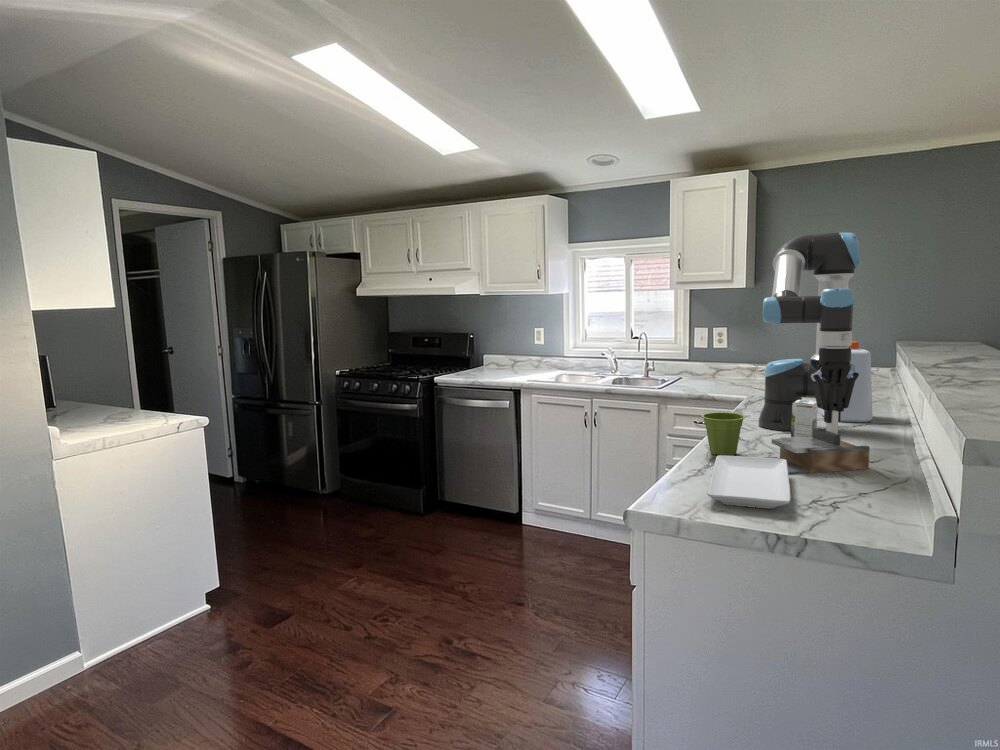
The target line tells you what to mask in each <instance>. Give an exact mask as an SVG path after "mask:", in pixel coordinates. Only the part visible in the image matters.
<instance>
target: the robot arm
mask: <svg viewBox="0 0 1000 750" xmlns="http://www.w3.org/2000/svg"><path fill="white" fill-rule="evenodd" d="M859 246H860V245H859V240H858V237H857V235H856V233H853V232H841V231H840V232H832V233H831V232H830V233H820V234H804V235H800V236H797V237H794V238H791V239H790V240H788V241H787V242H785V243H783V245H781V246H780V247H779V248H778V250H777V251H776V252H775V254H774V255H773V259H772V268H773V270H774V278H773V285H772V294H771V296H770V297H769V296H767V297H765V298H764V299H763V301H762V320H763V322H764V323H766V324H778V325H779V324H816V343H815V353H814V354H813V355H812V356H811V357H810V363H808V362H807V363H804V359H803V358H788V359H787V358H786V359H785V358H784V359H779V360H773V361H769V362H768V363H767V364H766V366H765V371H764V372H765V374H764V377H765V379H764V380H765V381H764V382H765V383H764V405H763V407H762V409H761V412H760V415H759V417H758V424H759V425H760V426H762V427H761V428H763V427H764V429H767V428H768V429H767V430H772V429H773V430H774V431H785V432H789V431H790V432H791V424H792V405H793V403H794V402H795V401H797V400H803V398H807V399H808V398H809V399H810V398H811V399H815V401H816V403H817V407H818V409H820V410H821V409H823V410H824V416H823V421H824V422H825V430H826V431H829V432H832V433H835V434H838V435H839V432H838V431H839V430H838V429H839V423H840V418H841V411H844V408H848V406H849V402H850V399H851V395H852V391H853V387H854V384H855V381H856V379H857V378H858V376H859V373H856V372H855V365H854V364H850V361H851V348H849V346H851V345H852V341H853V317H854V303H855V299H854V290H853V289H852V288H850V287H849V281H850V279H851V278H852V277H853V276H854V275H855V270H858V269H860V267H861V259H860V258H861V257H860V256H861V255H860V247H859ZM802 271H803V272H804V271H813V277H814V278H815V279H816V280H817V281H818V286H817V287H818V289H817V291H818V292H817V296H816V295H815V296H813V295H811V296H809V295H807V296H801V284H802V283H801V282H802ZM759 425H758V426H759ZM760 426H759V427H760Z"/></svg>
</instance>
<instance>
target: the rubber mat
mask: <svg viewBox="0 0 1000 750" xmlns="http://www.w3.org/2000/svg"><path fill="white" fill-rule="evenodd" d="M764 458H775V459H780V457H778V456H771V457H770V456H769V457H764ZM787 468H788V475H796V474H797V475H798V474H808V471H807V470H805V469H803V468H800V467H798V466H796V465H794V464H792V463H789V462H787Z"/></svg>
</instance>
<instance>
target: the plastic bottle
mask: <svg viewBox="0 0 1000 750" xmlns="http://www.w3.org/2000/svg"><path fill="white" fill-rule="evenodd" d="M859 345H860V344H859V341H854V340H852V345H851V346H849V348H851V361H850V364H854V365H855V372H856V373H859V376H858V378H857V379H856V381H855V384H854V387H853V391H852V395H851V399H850V402H849V406H848V408H844V411H841V418H840V422H841V423H844V422H846V423H868V422H870V421H872V420H873V415H874V414H873V388H872V387H873V386H872V354H871V352H870V351H869V350H867V349H863V348H859ZM820 415H822V416H823V417H824V410H823V409H821V408H820ZM840 422H839V423H840Z"/></svg>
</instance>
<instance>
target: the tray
mask: <svg viewBox="0 0 1000 750" xmlns="http://www.w3.org/2000/svg"><path fill="white" fill-rule="evenodd" d="M711 473H712V474H711V478H710V482H709V484H708V485H709V486H708V488H707V491H706V494H707V497H709V498H711V499H714V500H715V501H719V502H721V504H723V505H725V504H726V505H727V506H734V505H735V507H737V506H738V507H745V506H747V507H749V508H755V507H756V508H757V509H766V510H768V509H769V510H774V509H775V508H777V507H781V506H784V505H787V504H789V503H790V502H791V499H792V498H791V496H792V495H791V486H790V485H791V484H790V476H789V475H790V474H788V468H787V461H786V460H785V459H775V458H765V457H758V456H755V457H754V456H739V455H736V456H735V455H732V456H720V455H717V456H716V458H715V461H714V465H713V468H712V472H711ZM747 507H746V508H747Z"/></svg>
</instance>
